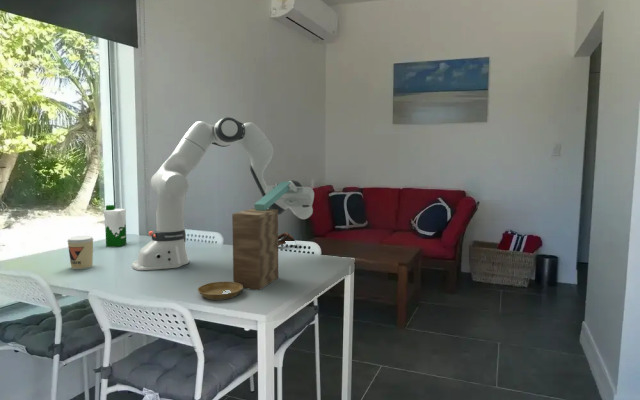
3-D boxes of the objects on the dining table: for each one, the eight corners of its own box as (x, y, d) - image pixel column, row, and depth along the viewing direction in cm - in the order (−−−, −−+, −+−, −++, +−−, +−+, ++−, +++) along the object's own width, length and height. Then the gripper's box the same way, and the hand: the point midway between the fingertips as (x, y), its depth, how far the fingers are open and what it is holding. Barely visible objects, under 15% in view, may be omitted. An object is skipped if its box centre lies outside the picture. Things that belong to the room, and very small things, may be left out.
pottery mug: (297, 250, 226) (289, 236, 223) (280, 258, 227) (271, 244, 225) (298, 239, 237) (291, 226, 234) (282, 246, 239) (274, 233, 236)
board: (282, 187, 194) (282, 181, 193) (291, 187, 192) (291, 181, 192) (255, 210, 171) (254, 204, 170) (265, 210, 169) (264, 204, 169)
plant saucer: (188, 298, 152) (188, 290, 152) (215, 286, 166) (215, 279, 165) (226, 305, 146) (225, 296, 146) (251, 291, 160) (251, 284, 160)
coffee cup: (63, 268, 188) (61, 239, 187) (82, 263, 197) (81, 235, 196) (81, 270, 185) (79, 240, 184) (99, 265, 194) (98, 236, 192)
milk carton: (111, 243, 237) (109, 204, 235) (129, 243, 237) (127, 204, 235) (103, 247, 228) (101, 206, 226) (121, 247, 228) (119, 206, 226)
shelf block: (254, 275, 179) (253, 208, 176) (278, 277, 176) (277, 209, 173) (233, 286, 164) (232, 213, 161) (259, 289, 161) (258, 215, 158)
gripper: (274, 191, 206) (261, 177, 194) (317, 193, 199) (308, 178, 187) (271, 204, 203) (258, 191, 191) (315, 206, 197) (305, 193, 185)
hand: (283, 185), depth 189 cm, fingers closed on board, 4 cm apart
